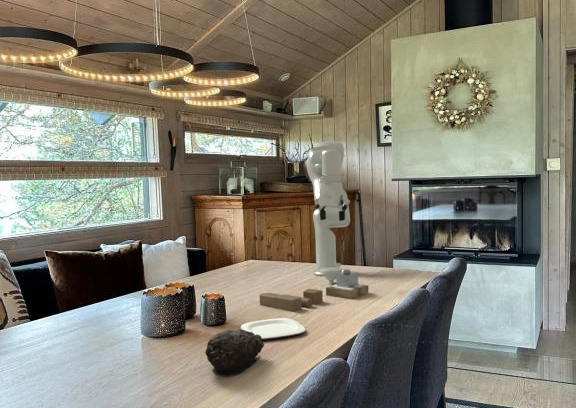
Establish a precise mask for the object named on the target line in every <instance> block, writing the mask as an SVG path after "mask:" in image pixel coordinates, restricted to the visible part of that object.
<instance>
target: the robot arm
mask: <svg viewBox="0 0 576 408" xmlns="http://www.w3.org/2000/svg"><path fill="white" fill-rule="evenodd" d="M344 158H345V147H344V145H343V143H342V142H341V141H320V142H317V143H316V144H315V145H314V147H312V148H310V149H309V150H308V153H307V161H306V170H307V174H308V176H309V177H308V178H309V179H310V181H311V183H312V189H313V199H314V205H315V206H316V207H317V208H316V209H315V210H314V211H313V214H312V219H313V220H312V221H313V227H314V233H315V235H314V236H315V264H316V265H315V267H316V269H314V270H313V271H312V272H313V275H315V276H323V277H326V274H323V273H321V272H320V269H321V268H325V267H339V268H341V266H342V264H341V262H337V246H336V244H337V243H336V240H337V239H336V235H335V233H334V232H333V231H332V230H331V228H332V229H333V228H346V227H348V226H349V225H350V222H351V215H350V208H349V205H350V203H351V200H350V199H349V198H348V193H347V192H346V190H344V187H343V183H342V182H341V170H342V168H343V162H344Z"/></svg>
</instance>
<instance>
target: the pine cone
mask: <svg viewBox="0 0 576 408" xmlns="http://www.w3.org/2000/svg"><path fill="white" fill-rule="evenodd" d="M264 347H265V343H264V341H263V339H261V336H260V335H258V334H256V335H255V334H254V333H253V332H249V331H246V330H242V329H226V330H224V331H221V332H218V333H216V334H215V335H214V336H213V337H212V338H209V340H208V341H207V345H206V348H205V352H204V353H205V355H206V359H207V361H208V362H209V363H210V365H211V366H212V367H213V368H212V370H211V371H212V372H213V374H215V375H218V376H222V377H228V378H230V377H233V376H237V375H240V374H241V373H244V372H245V371H247V370H248V369H250V368H252V367H253V365H255V364H256V363H257V362H258V361H260V359H261V358H262V357H261V355H259V353H261V351H262V350H263V348H264Z"/></svg>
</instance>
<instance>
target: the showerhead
mask: <svg viewBox="0 0 576 408" xmlns="http://www.w3.org/2000/svg"><path fill="white" fill-rule="evenodd" d="M341 270H343V268H341V267H325V268H321V269H320V272H321V273H323V274H326V276H325V280H327V281H328V284H329V285H334V284H335V280H336V281H337V276H336V274H337V273H340V272H341ZM333 283H334V284H333Z"/></svg>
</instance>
